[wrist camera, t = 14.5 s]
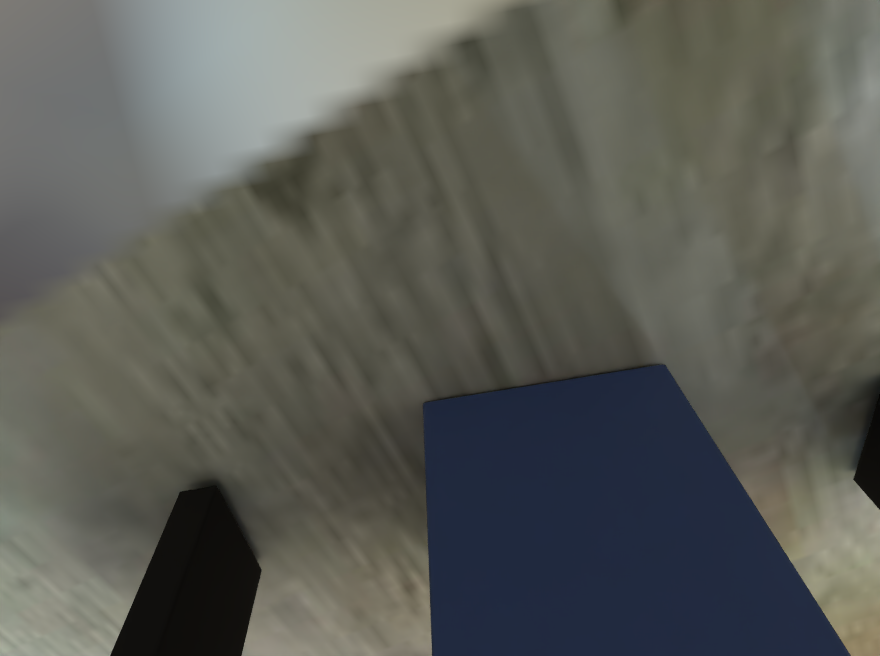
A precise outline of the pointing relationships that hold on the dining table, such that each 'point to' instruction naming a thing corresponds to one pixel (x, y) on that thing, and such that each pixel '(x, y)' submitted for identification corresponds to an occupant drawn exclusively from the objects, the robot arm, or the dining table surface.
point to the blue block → (601, 530)
